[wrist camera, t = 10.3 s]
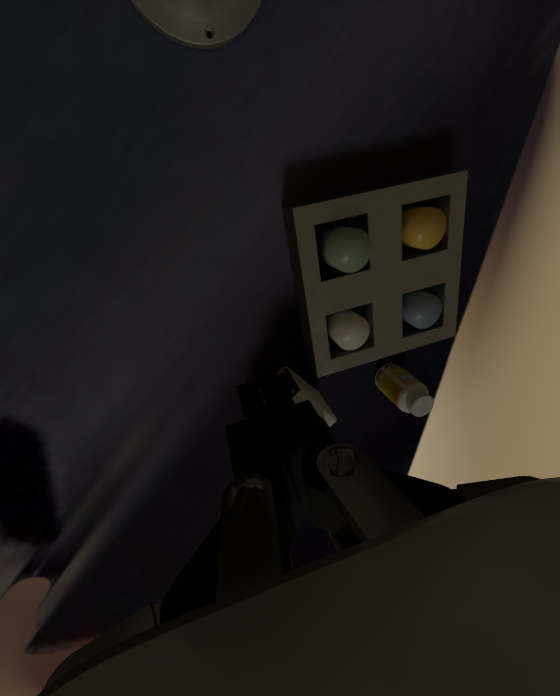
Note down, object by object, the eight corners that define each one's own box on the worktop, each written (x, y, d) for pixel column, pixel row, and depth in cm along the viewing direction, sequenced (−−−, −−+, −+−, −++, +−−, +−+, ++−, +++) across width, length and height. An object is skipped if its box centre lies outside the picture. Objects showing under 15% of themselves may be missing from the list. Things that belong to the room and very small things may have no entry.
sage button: (315, 230, 35) (329, 233, 32) (352, 221, 36) (370, 223, 32) (320, 269, 37) (334, 277, 34) (355, 261, 38) (372, 267, 34)
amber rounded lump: (390, 210, 38) (411, 211, 34) (423, 203, 39) (447, 203, 35) (391, 248, 40) (411, 253, 36) (422, 240, 41) (445, 244, 37)
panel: (281, 207, 35) (292, 208, 32) (442, 172, 38) (468, 170, 35) (307, 363, 44) (317, 377, 41) (435, 325, 47) (455, 335, 44)
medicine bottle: (284, 363, 43) (316, 416, 33) (318, 390, 47) (356, 446, 36) (249, 400, 44) (268, 463, 34) (284, 424, 48) (312, 488, 37)
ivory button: (321, 311, 41) (334, 321, 37) (353, 302, 42) (368, 311, 38) (325, 341, 43) (337, 354, 39) (355, 332, 44) (370, 344, 40)
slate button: (392, 291, 42) (410, 300, 39) (421, 283, 43) (442, 291, 40) (392, 322, 44) (410, 332, 41) (421, 314, 45) (440, 323, 42)
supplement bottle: (380, 393, 50) (413, 427, 43) (368, 373, 48) (402, 405, 40) (404, 376, 50) (442, 407, 42) (394, 356, 48) (432, 384, 40)
